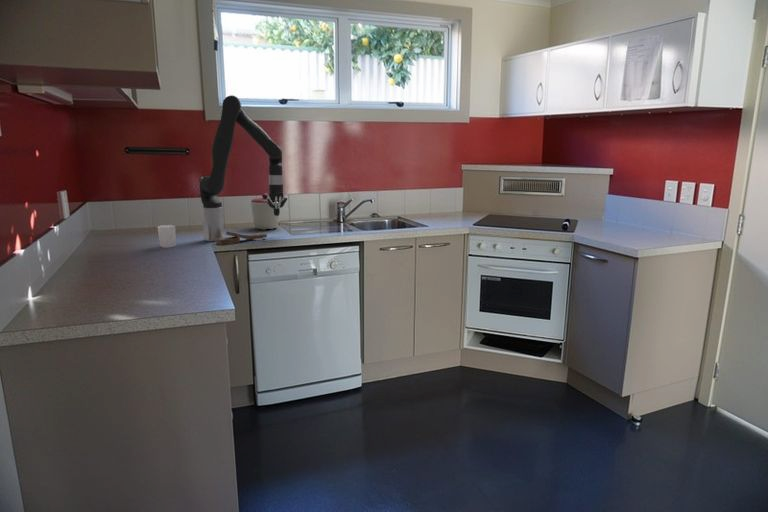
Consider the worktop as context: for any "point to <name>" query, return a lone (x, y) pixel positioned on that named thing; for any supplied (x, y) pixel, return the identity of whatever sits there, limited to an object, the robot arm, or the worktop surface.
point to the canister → (263, 214)
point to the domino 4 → (256, 236)
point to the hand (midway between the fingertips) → (276, 215)
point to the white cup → (166, 236)
